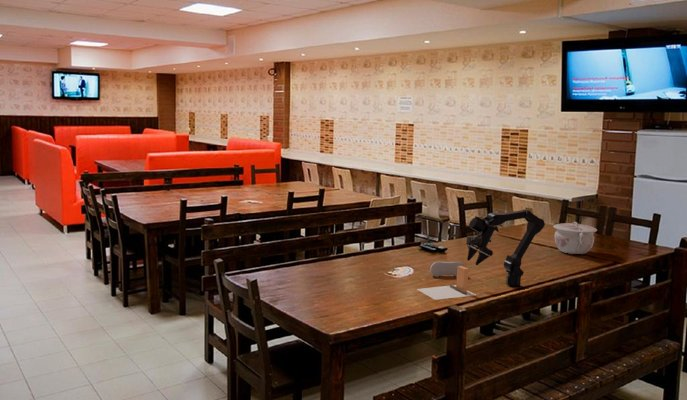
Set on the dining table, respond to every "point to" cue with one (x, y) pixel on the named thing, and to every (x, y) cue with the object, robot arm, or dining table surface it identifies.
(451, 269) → the grey rounded panel
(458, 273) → the orange block
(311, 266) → the dining table surface
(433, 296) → the mat
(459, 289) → the long brown bar
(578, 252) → the chamber pot
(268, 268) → the dining table surface
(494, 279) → the dining table surface
